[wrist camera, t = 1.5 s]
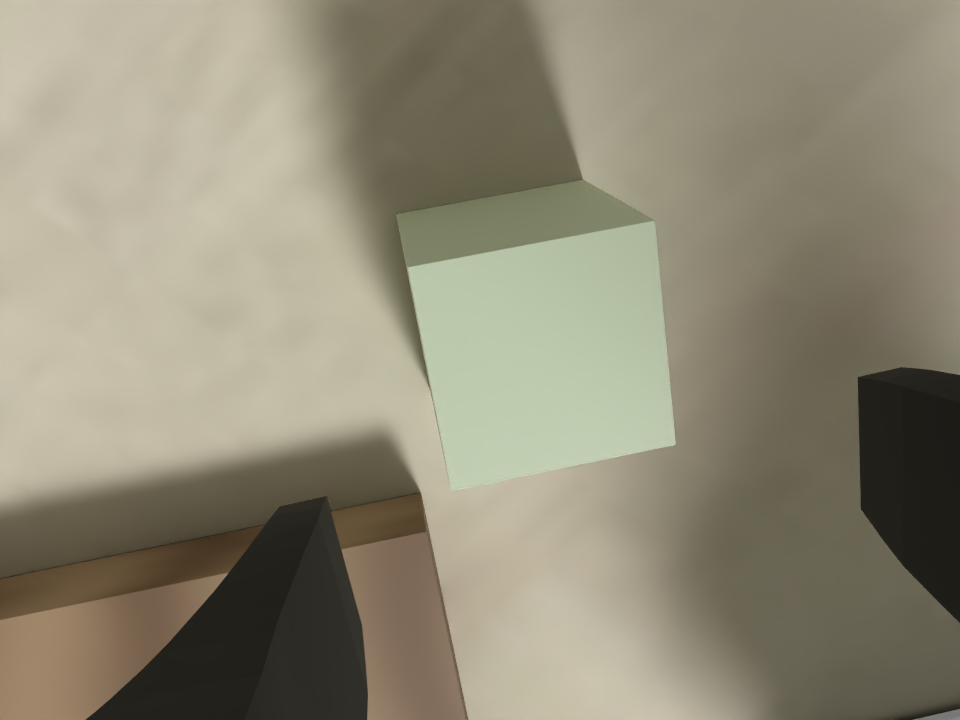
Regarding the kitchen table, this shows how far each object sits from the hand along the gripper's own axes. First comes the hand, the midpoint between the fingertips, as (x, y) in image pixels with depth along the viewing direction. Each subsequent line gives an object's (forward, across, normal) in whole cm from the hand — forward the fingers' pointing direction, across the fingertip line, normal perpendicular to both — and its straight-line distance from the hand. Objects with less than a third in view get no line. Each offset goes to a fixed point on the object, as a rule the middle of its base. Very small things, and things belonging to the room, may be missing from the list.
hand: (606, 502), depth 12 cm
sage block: (+11, 0, 0) cm, 11 cm away
